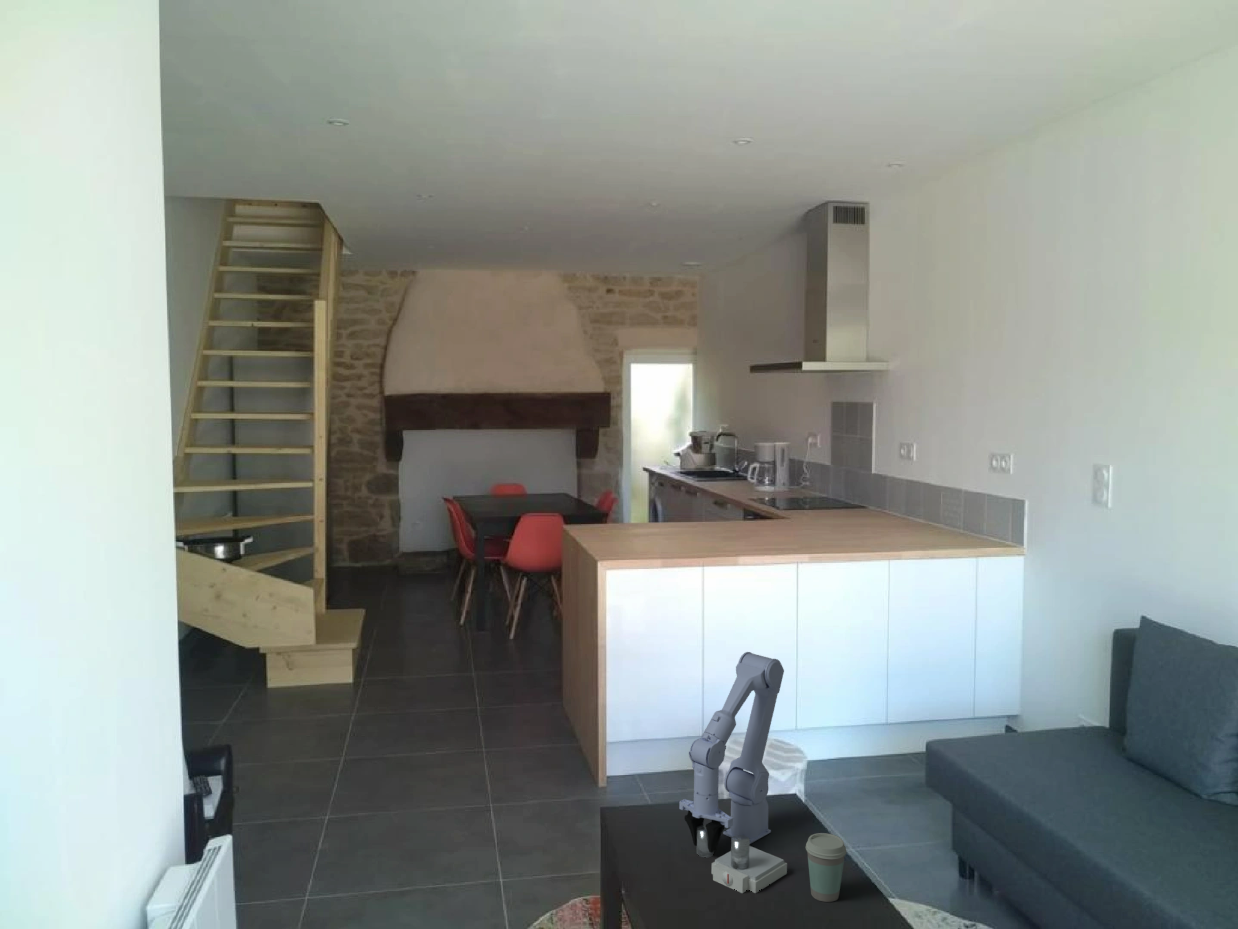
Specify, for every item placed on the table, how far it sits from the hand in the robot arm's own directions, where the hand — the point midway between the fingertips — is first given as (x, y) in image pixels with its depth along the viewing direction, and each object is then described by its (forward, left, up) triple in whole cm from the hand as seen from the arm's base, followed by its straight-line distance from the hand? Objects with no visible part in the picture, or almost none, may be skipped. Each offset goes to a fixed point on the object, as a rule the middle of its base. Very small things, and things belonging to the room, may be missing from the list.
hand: (705, 847), depth 218 cm
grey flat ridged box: (+2, +13, -1) cm, 13 cm away
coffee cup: (-4, +30, -2) cm, 30 cm away
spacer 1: (0, 0, -1) cm, 1 cm away
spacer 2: (+4, +13, +2) cm, 14 cm away
